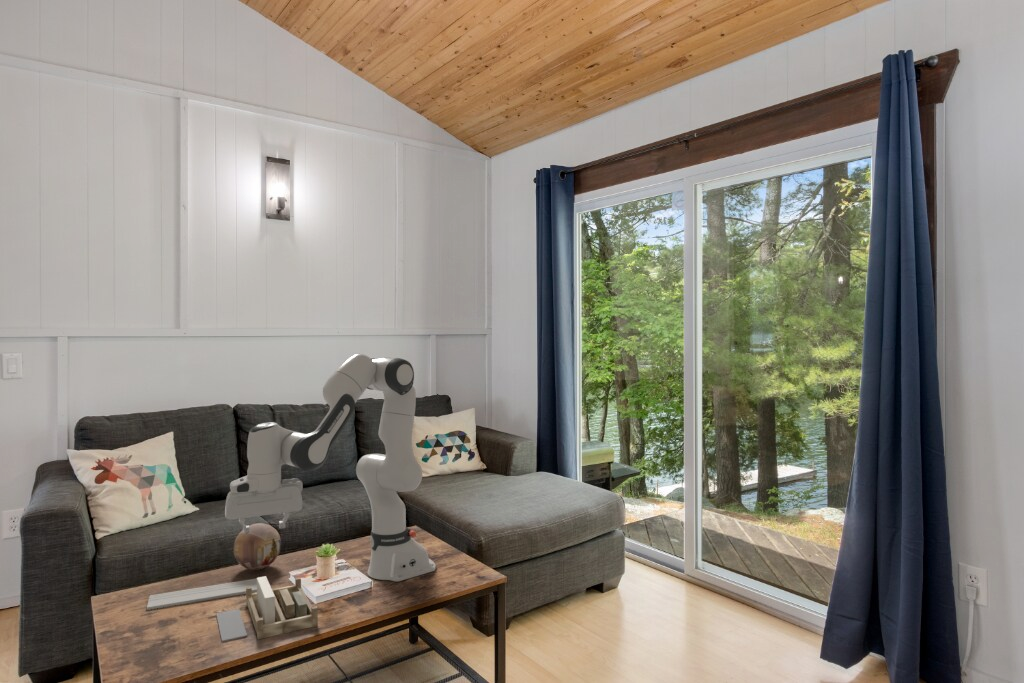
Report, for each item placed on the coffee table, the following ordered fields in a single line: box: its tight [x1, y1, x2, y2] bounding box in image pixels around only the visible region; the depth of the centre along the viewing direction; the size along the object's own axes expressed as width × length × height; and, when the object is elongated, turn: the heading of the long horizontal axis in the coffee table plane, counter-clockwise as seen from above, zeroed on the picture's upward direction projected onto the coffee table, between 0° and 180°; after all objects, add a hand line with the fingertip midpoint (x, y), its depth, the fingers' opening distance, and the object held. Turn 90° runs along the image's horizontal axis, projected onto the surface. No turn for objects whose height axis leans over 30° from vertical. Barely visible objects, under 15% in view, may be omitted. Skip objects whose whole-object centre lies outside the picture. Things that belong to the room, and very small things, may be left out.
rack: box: [245, 576, 319, 640], centre depth 180 cm, size 15×24×5 cm, turn 29°
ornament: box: [233, 522, 282, 571], centre depth 214 cm, size 15×15×15 cm
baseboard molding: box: [146, 573, 261, 611], centre depth 195 cm, size 31×3×12 cm
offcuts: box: [278, 589, 307, 619], centre depth 183 cm, size 5×16×4 cm, turn 29°
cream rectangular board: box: [256, 575, 276, 625], centre depth 178 cm, size 2×16×9 cm, turn 29°
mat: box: [216, 608, 248, 643], centre depth 174 cm, size 6×18×1 cm, turn 29°
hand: (264, 530), depth 178 cm, fingers open, 8 cm apart
